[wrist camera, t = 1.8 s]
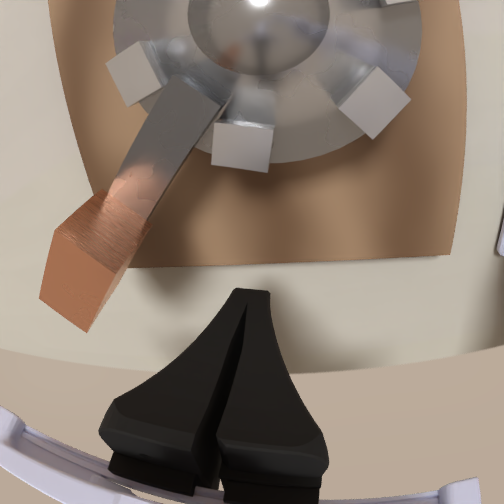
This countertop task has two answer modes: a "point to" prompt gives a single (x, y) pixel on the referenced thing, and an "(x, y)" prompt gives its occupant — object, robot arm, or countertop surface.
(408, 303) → the countertop surface
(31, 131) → the countertop surface
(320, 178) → the base plate
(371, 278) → the countertop surface
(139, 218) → the valve handle
